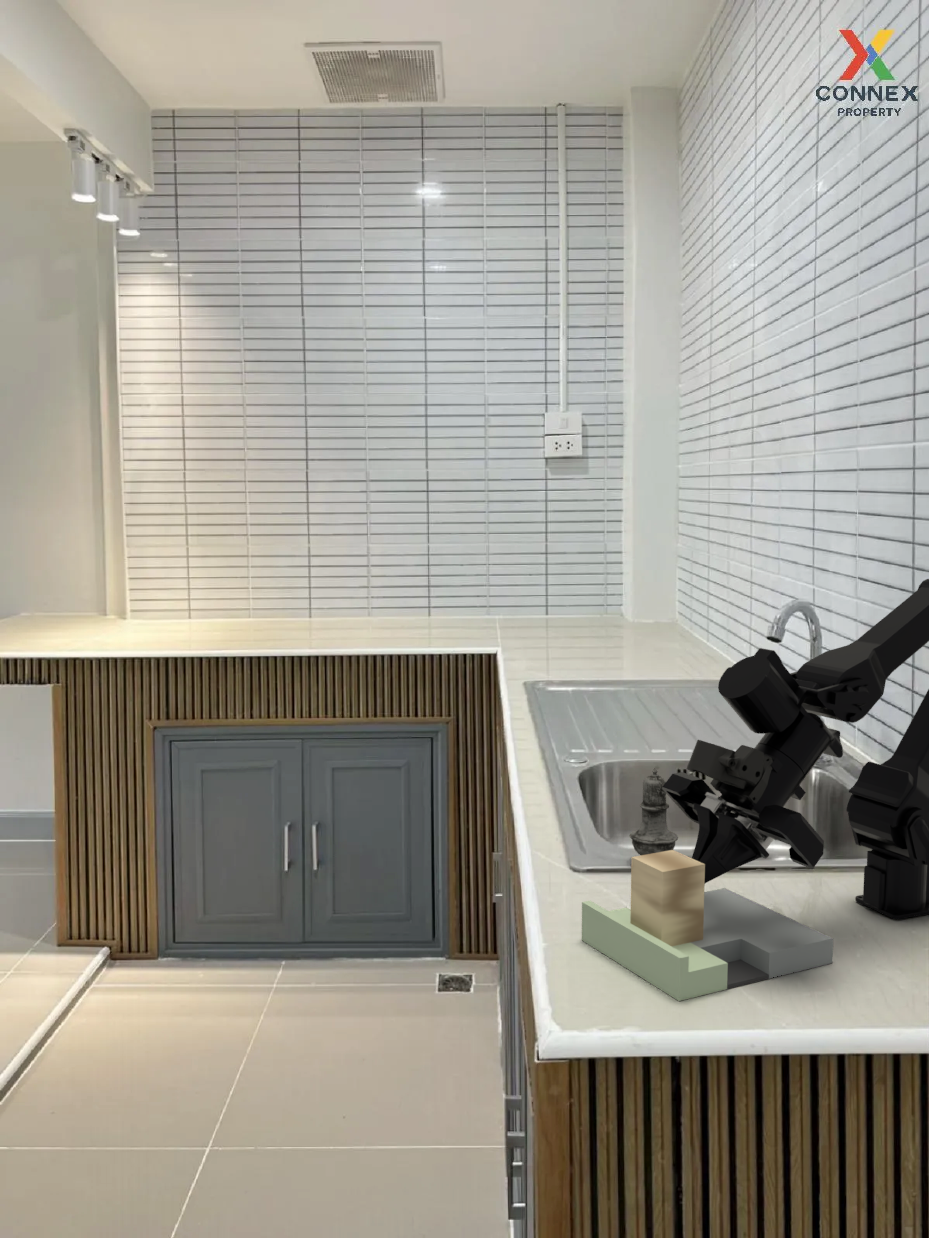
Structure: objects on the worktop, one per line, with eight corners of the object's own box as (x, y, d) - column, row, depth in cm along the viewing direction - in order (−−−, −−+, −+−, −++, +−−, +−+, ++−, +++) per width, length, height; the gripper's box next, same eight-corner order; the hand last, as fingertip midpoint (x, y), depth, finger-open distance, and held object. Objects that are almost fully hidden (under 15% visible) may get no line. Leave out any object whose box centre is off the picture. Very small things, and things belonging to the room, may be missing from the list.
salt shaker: (644, 874, 139) (646, 775, 138) (620, 859, 145) (621, 765, 143) (686, 868, 141) (688, 771, 140) (661, 854, 147) (662, 760, 145)
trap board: (724, 910, 127) (725, 874, 127) (832, 962, 113) (833, 923, 113) (581, 939, 119) (581, 901, 118) (679, 1000, 105) (679, 958, 104)
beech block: (671, 922, 117) (672, 849, 116) (703, 939, 113) (705, 864, 112) (630, 930, 115) (631, 856, 114) (661, 948, 110) (662, 871, 109)
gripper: (678, 696, 123) (589, 811, 119) (805, 728, 107) (706, 863, 103) (735, 761, 128) (650, 874, 124) (865, 802, 111) (772, 933, 107)
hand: (690, 884), depth 114 cm, fingers closed, pressing on beech block
